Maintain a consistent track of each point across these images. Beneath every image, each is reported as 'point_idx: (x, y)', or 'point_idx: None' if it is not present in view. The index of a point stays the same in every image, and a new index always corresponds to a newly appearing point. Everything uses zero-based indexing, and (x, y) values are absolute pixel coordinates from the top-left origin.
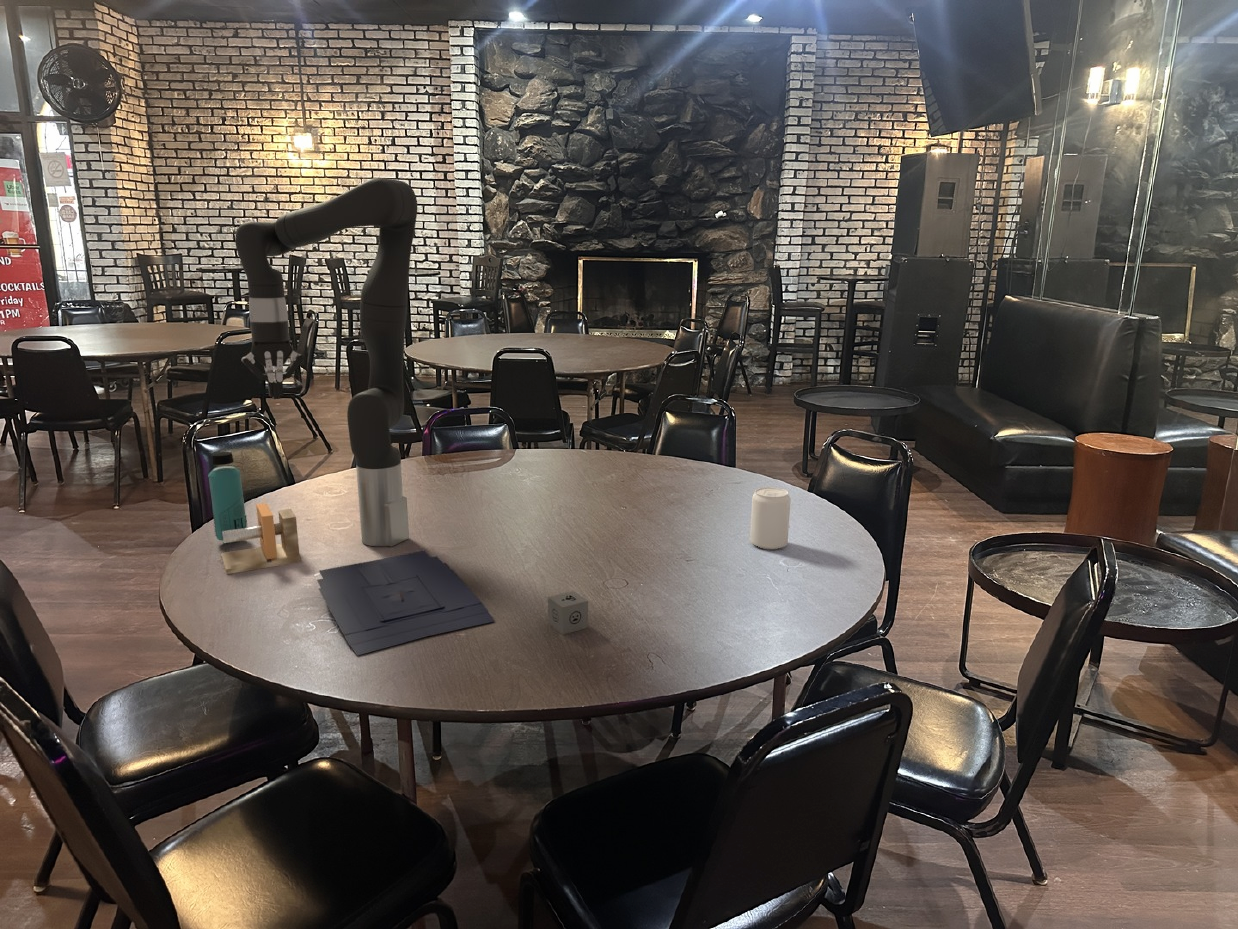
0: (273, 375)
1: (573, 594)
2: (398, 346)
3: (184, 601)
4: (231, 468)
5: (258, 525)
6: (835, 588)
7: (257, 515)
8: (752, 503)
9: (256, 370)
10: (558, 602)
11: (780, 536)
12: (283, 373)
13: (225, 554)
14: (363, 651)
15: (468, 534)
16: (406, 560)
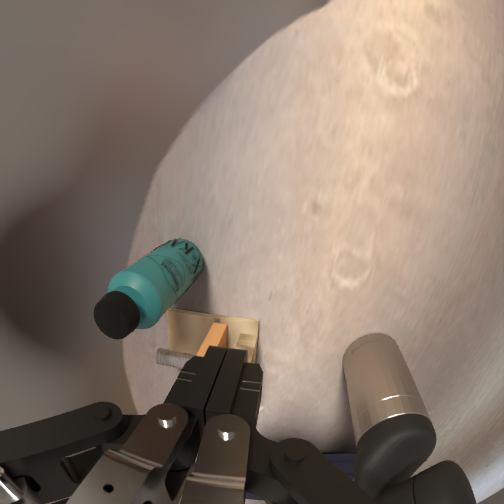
0: (183, 488)
1: None
2: None
3: (139, 391)
4: (141, 312)
5: (205, 338)
6: (482, 496)
7: (200, 348)
8: None
9: (75, 483)
10: None
11: None
12: (261, 485)
13: (171, 318)
14: (249, 498)
15: (449, 381)
16: (332, 459)
